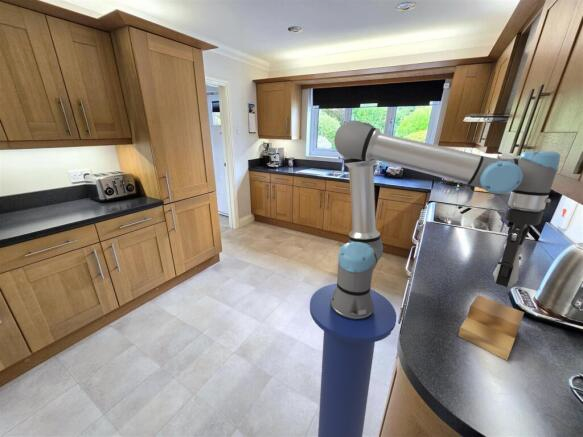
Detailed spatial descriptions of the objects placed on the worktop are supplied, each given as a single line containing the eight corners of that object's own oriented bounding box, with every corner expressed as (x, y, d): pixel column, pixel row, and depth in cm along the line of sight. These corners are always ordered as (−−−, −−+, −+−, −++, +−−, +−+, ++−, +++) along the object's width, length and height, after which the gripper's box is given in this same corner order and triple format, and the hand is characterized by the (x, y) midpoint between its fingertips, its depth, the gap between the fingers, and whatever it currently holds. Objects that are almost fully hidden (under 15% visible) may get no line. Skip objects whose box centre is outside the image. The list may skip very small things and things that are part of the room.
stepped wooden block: (458, 335, 77) (463, 314, 74) (472, 314, 87) (477, 294, 84) (507, 360, 68) (515, 337, 66) (517, 333, 78) (524, 312, 76)
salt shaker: (517, 290, 71) (530, 250, 67) (493, 284, 74) (503, 245, 70) (513, 281, 76) (525, 243, 72) (490, 276, 79) (500, 239, 75)
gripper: (539, 217, 59) (514, 298, 66) (547, 205, 71) (525, 275, 78) (500, 211, 65) (480, 286, 71) (513, 201, 76) (495, 266, 83)
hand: (503, 280), depth 75 cm, fingers closed on salt shaker, 6 cm apart
